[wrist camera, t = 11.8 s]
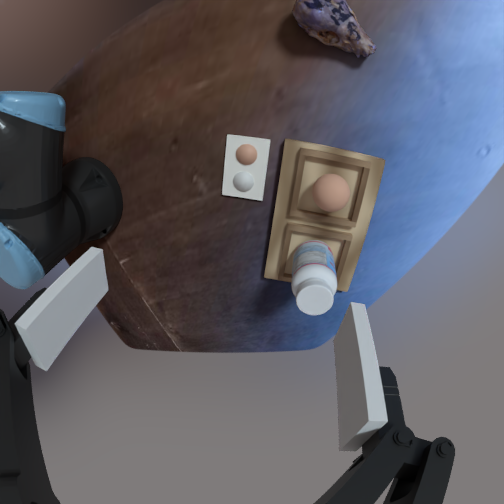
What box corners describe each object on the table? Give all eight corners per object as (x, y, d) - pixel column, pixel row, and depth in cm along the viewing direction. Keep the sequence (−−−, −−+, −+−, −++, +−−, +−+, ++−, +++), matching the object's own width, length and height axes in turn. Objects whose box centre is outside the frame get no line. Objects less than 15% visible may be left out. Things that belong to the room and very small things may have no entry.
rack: (264, 273, 49) (263, 281, 47) (285, 138, 38) (284, 140, 36) (346, 287, 48) (347, 295, 46) (383, 158, 37) (387, 162, 35)
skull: (383, 46, 29) (396, 38, 24) (343, 75, 33) (350, 70, 27) (322, -14, 26) (325, -31, 21) (281, 14, 30) (278, 0, 24)
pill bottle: (330, 273, 46) (335, 321, 36) (292, 271, 47) (288, 318, 37) (335, 239, 43) (343, 282, 33) (294, 236, 44) (291, 278, 34)
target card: (222, 193, 44) (221, 195, 43) (227, 134, 39) (227, 134, 39) (262, 200, 43) (262, 201, 43) (270, 139, 39) (270, 140, 38)
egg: (308, 200, 41) (309, 213, 36) (315, 166, 38) (316, 175, 34) (342, 207, 40) (347, 220, 36) (350, 173, 38) (356, 183, 34)
